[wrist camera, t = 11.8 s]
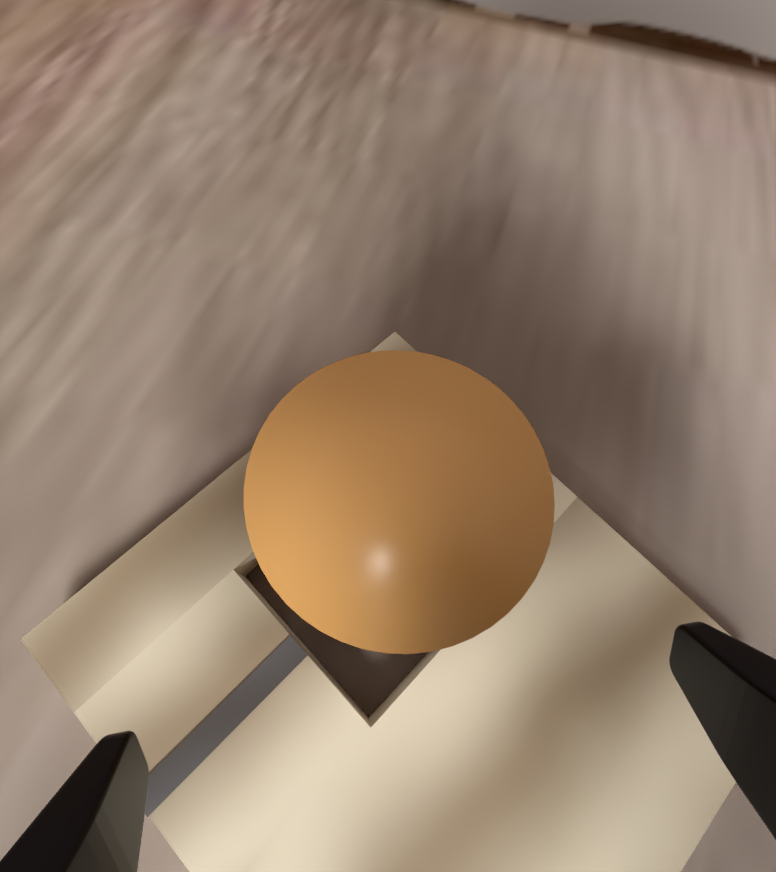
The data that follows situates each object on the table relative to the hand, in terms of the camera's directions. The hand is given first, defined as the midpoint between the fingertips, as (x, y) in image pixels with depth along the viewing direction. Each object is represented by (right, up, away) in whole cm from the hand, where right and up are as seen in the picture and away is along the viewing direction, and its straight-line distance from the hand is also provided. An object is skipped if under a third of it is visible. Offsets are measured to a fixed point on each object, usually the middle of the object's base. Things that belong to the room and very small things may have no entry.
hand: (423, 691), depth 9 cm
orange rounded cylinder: (-1, -1, +10) cm, 11 cm away
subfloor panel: (0, -4, +10) cm, 10 cm away
